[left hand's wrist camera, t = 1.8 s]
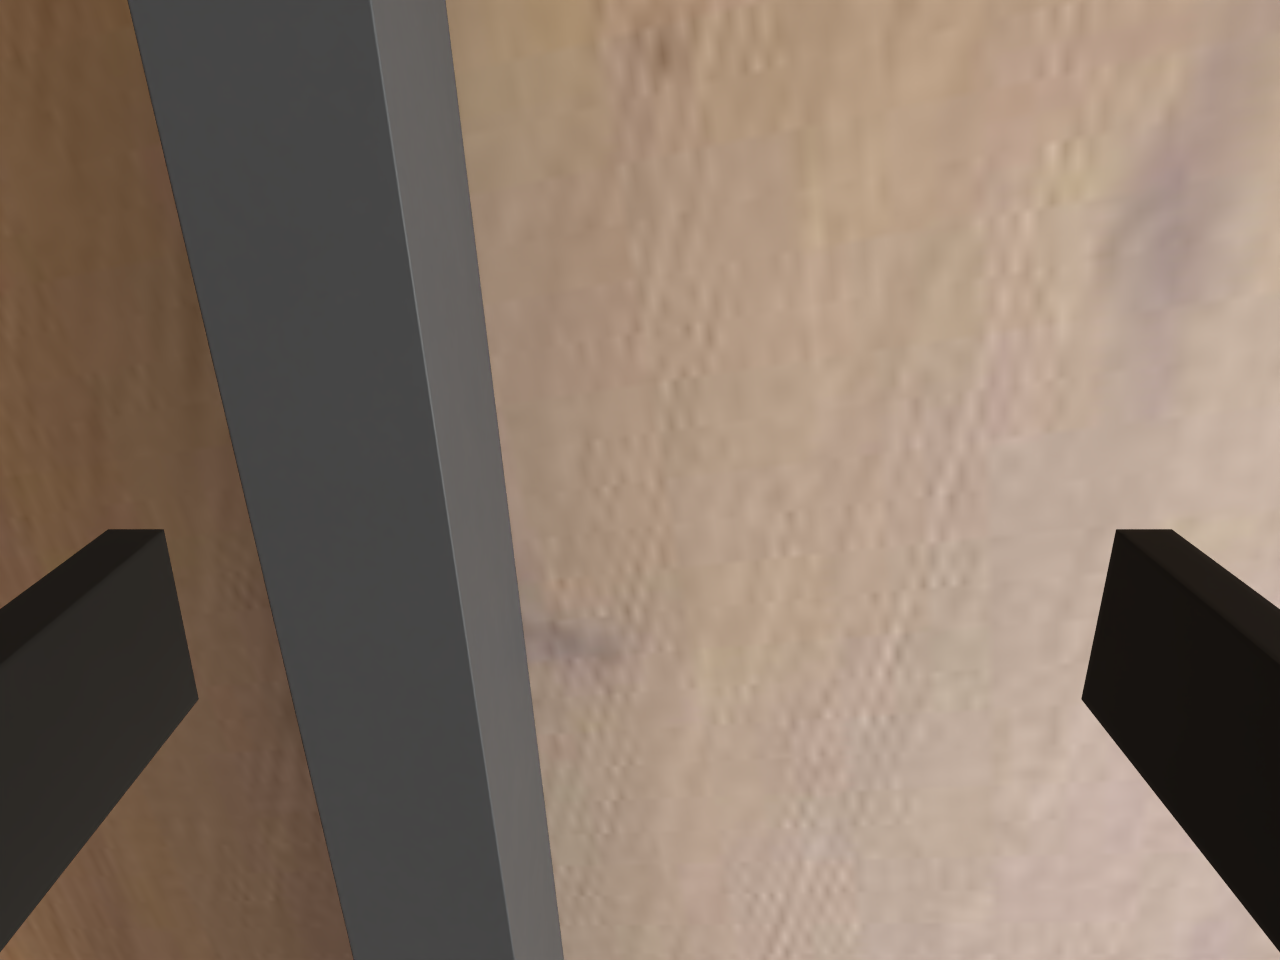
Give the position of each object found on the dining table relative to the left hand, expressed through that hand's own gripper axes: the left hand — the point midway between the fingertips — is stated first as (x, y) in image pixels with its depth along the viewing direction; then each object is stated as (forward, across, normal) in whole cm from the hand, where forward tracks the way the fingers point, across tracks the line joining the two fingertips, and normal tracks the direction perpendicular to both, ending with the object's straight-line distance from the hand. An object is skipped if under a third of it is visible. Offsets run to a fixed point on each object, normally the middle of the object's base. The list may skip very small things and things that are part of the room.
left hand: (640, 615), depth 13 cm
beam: (+16, -6, -18) cm, 25 cm away
